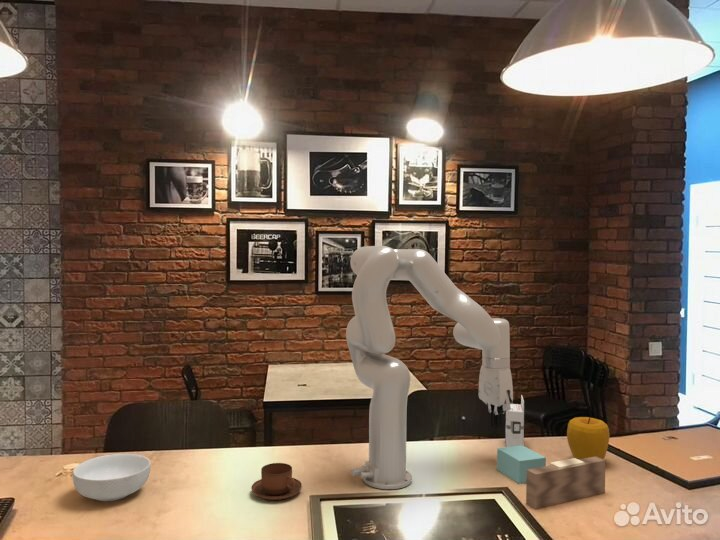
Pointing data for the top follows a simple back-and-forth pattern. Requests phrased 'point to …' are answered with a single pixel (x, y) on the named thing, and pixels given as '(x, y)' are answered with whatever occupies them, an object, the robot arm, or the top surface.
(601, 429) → the apple
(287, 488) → the cup and saucer
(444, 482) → the top surface
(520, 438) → the ink box
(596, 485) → the walnut box
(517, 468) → the teal block
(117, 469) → the cereal bowl
